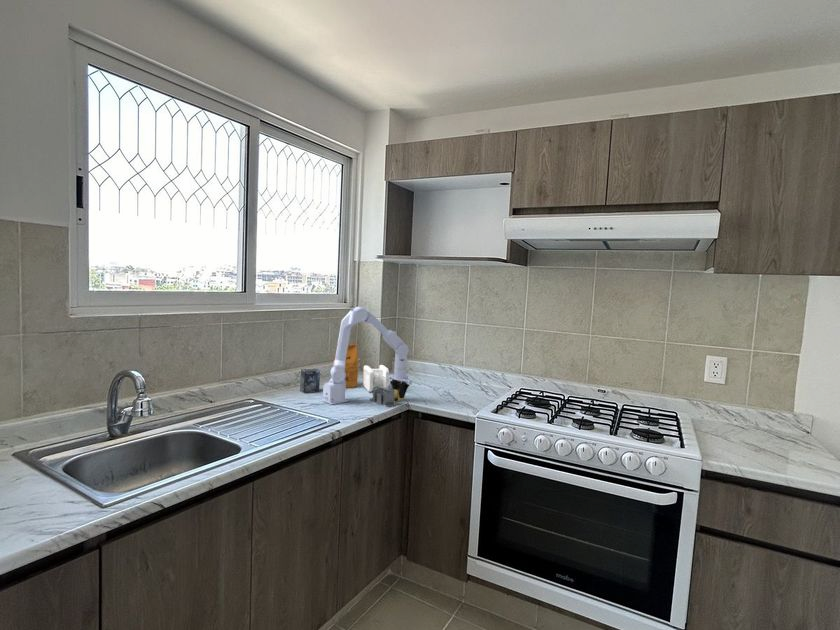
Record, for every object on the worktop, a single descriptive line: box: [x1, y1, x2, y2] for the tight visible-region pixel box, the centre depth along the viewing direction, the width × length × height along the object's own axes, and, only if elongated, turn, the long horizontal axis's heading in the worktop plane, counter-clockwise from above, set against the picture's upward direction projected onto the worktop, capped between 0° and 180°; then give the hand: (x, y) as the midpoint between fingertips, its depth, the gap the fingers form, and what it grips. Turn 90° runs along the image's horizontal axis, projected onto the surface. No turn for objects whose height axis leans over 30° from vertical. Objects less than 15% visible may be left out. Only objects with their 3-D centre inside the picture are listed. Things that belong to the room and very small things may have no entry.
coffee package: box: [332, 343, 359, 389], centre depth 230 cm, size 10×12×22 cm
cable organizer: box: [362, 364, 390, 393], centre depth 226 cm, size 15×11×12 cm
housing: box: [369, 386, 398, 408], centre depth 202 cm, size 5×14×6 cm, turn 44°
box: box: [299, 368, 321, 394], centre depth 216 cm, size 8×6×11 cm
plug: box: [376, 388, 406, 405], centre depth 205 cm, size 14×4×5 cm, turn 134°
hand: (399, 396), depth 209 cm, fingers closed on plug, 3 cm apart
